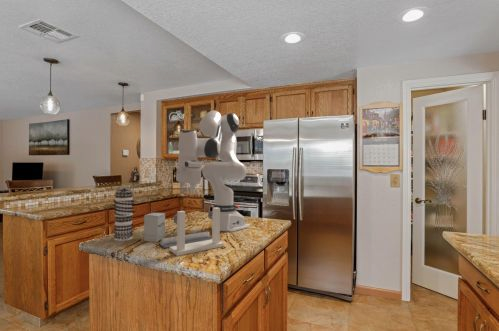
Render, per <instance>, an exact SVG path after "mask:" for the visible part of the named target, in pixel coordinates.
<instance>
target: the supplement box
mask: <svg viewBox="0 0 499 331" xmlns="http://www.w3.org/2000/svg"><path fill="white" fill-rule="evenodd" d="M143 220H144V221H143V224H144V225H143V241H144V242H152V243H153V242H154V243H157V242H159V241H161V239H163V238H166V236H165V235H166V233H165V232H166V229H165V228H166V213H165V212H150V213H148V214H144V218H143Z"/></svg>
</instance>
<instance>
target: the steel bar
mask: <svg viewBox="0 0 499 331" xmlns="http://www.w3.org/2000/svg"><path fill="white" fill-rule="evenodd" d="M210 233H211V232H210V231H202V232H195V233H189V234H185V241H190V240H196V239H202V238H207V237H211V236H210V235H211V234H210ZM160 242H161V245H168V244H173V243H177V235H176V236H171V237H165V238H163V239H161V240H160Z"/></svg>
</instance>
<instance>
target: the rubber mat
mask: <svg viewBox="0 0 499 331" xmlns="http://www.w3.org/2000/svg"><path fill="white" fill-rule="evenodd" d="M210 239H212V236H210V237H207V238H202V239H196V240H190V241H185V244H188V243H194V242H199V241H205V240H210ZM158 245H159V246H160V247H161V248H163V249H164V250H167V249H170V247H172V246H177V243H173V244H168V245H161V241H160V242H159V241H158Z"/></svg>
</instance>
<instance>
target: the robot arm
mask: <svg viewBox="0 0 499 331" xmlns="http://www.w3.org/2000/svg"><path fill="white" fill-rule="evenodd" d="M198 125H199V130H200V132H201V133H202V135H204V136H205V137H206V138H205V137H204V138H203V137H200V138H199V137H198V135H197V130H195V129H184V130H181V131H180V132H179V137H178V150H179V152H178V153H179V154H178V164H177V166H178V167H177V168H176V174H175V180H176V182H179V185H180V192H186V185H185V184H189V185H190V187H189V189H188V190H189V191H188V192H189V194H195V190H196V185H198V184H200V183H201V179H202V175H203V177H204V179H206V180H207V181H208V182H209V184H210V185H211V186H212V189H213V196H214V204H213V208H216V207H218V208H220V232H229V233H230V232H231V233H233V232H235V231H240V230H245V229H249V228H250V227H249V224H247V223H246V222H245V221H246V219H245V217H244V215H243V214H241V213H240V212H239V211H237V209H239V208H240V206H239V205H238V204H234V193H235V192H234V190H233V189H232V188H231V187H228V186H227V185H225V183H224V181H226V182H227V181H229V182H237V181H243V180H244V179H245V178H246V176H247V168H246V166H245V164H244V163H242V162H241V161H240V160H239V159H238V158H237V148H238V147H237V146H238V142H237V141H238V140H237V136H236V135H235V134H236V133H237V132H238V129H239V127H240V119H239V117H238V115H237V114H235V113H233V112H232V113H227V114H225V115H222V114H221V113H220V112H219V111H217V110H213V109H212V110H210V111H208V112H207V113H205V115H204V116H203V117H202V119H201V120H200V121H199V124H198ZM207 137H208V138H207ZM217 157H218V159H219V160H220V161H211V162H206V163H205V164H204V165H203V163H202V162H201V161H199V160H198V158H211V159H215V158H217ZM202 166H203V167H202ZM201 168H202V169H201ZM210 229H211V230H212V226H211V228H210Z"/></svg>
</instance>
